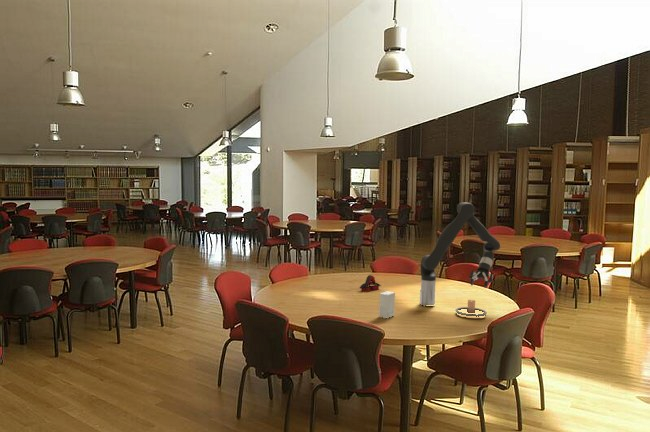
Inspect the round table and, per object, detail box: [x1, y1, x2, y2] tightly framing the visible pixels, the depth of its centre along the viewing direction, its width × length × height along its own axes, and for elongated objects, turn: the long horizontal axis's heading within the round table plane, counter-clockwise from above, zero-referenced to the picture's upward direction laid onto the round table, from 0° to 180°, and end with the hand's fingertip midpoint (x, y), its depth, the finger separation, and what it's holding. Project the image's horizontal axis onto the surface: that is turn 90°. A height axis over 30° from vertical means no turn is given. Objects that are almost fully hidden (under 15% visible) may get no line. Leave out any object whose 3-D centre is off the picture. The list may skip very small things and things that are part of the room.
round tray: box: [455, 306, 488, 317], centre depth 317 cm, size 18×18×3 cm
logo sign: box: [359, 274, 382, 292], centre depth 378 cm, size 18×4×11 cm, turn 124°
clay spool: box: [467, 299, 476, 313], centre depth 317 cm, size 4×4×8 cm
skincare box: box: [378, 290, 396, 319], centre depth 308 cm, size 8×6×15 cm
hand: (478, 285), depth 324 cm, fingers open, 8 cm apart
